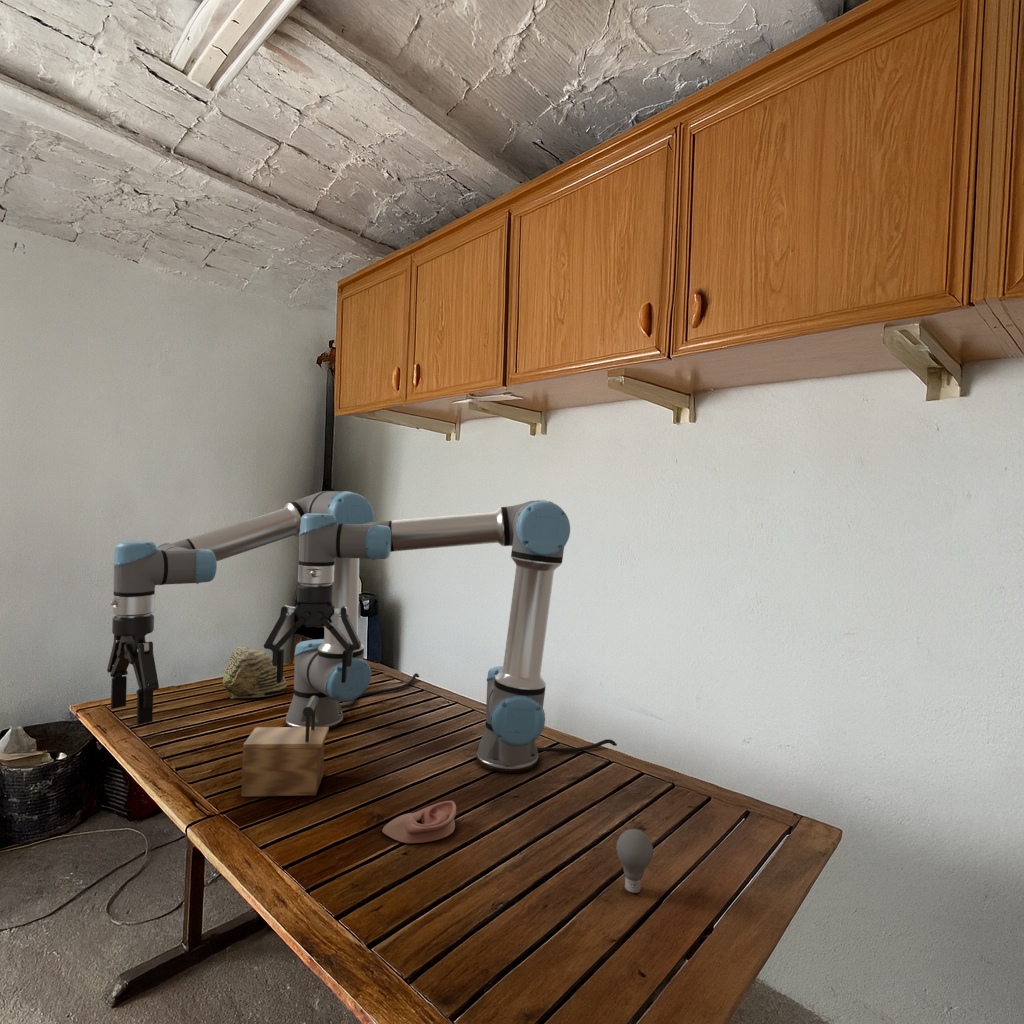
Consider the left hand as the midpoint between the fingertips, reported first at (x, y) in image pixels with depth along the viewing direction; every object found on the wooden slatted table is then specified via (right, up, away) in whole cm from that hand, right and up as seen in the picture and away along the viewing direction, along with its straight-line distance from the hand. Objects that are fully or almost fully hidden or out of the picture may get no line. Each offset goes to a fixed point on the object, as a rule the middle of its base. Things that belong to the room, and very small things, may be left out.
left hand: (131, 714), depth 134 cm
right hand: (+37, +6, +5) cm, 37 cm away
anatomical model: (+63, -19, -11) cm, 66 cm away
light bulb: (+101, -21, -28) cm, 106 cm away
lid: (+31, -7, +4) cm, 33 cm away
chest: (+31, -17, +5) cm, 35 cm away
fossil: (0, -14, +64) cm, 66 cm away
